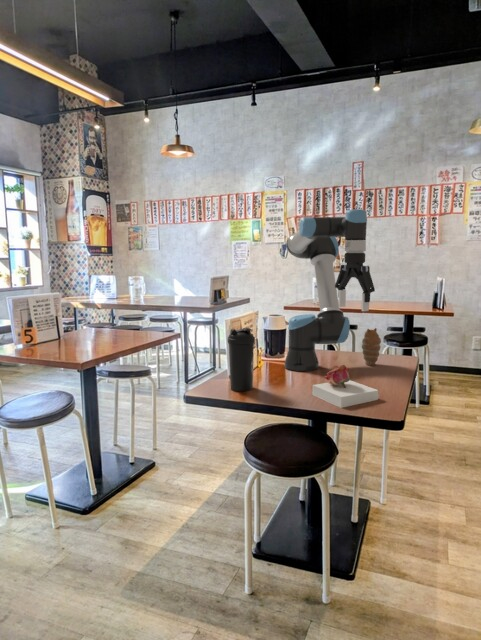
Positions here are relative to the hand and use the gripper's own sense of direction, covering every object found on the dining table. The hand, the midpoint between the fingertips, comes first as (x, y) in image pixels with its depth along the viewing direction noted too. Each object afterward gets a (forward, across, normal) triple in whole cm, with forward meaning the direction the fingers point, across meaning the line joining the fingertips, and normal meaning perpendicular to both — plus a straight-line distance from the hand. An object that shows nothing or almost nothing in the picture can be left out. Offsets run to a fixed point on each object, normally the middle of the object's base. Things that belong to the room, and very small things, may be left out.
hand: (353, 308), depth 171 cm
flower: (+26, +13, -13) cm, 32 cm away
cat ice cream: (+31, -18, +25) cm, 43 cm away
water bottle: (+30, -15, -40) cm, 52 cm away
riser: (+29, +13, -13) cm, 35 cm away
